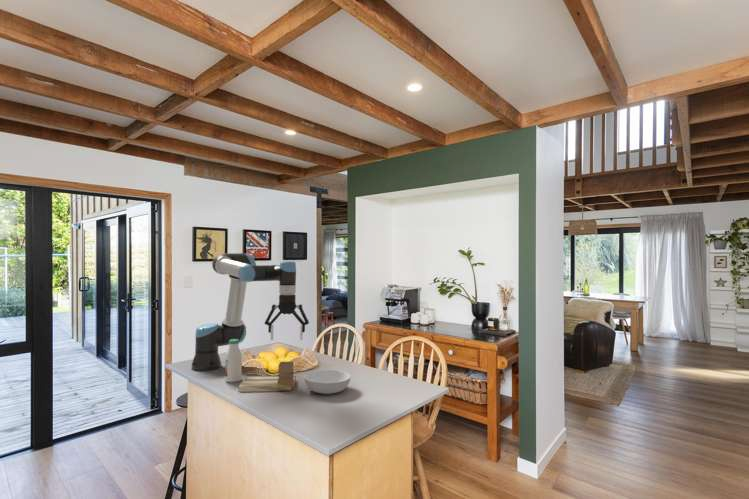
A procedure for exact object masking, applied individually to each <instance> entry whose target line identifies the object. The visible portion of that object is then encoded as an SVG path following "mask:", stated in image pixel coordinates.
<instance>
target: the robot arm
mask: <svg viewBox="0 0 749 499" xmlns="http://www.w3.org/2000/svg"><path fill="white" fill-rule="evenodd" d="M211 265H212V269H213V271H214V272H215V273H217V274H220V275H224V276H225V275H228V277H229V278H230V285H229V293H228V299H227V306H226V307H227V308H226V312H225V318H224V319H222V322H221V324H219V323H217V322H211V323H205V324H202V325H199V326H198V327H196V330H195V335H194V336H195V349H194V350H195V352H194V357H193V359H192V362H191V370H193V371H197V372H200V371H212V370H216V369H219V368H221V367H222V360H221V358H220V354H219V347H224V346H229V340H231V339H238V340H239V344H241V343H242V342H243V341H244V340H245V338H246V335H247V327H246V324H245V323H244V321H243V319H242V317H243V312H244V309H243V308H244V303H245V297H246V296H245V295H246V291H247V290H246V289H247V283H251V282H272V281H273V282H275V281H276V282H279V287H278V288H279V295H278V304H275V303H273V304H272V305H271V309H270V311H269V313H268V315H267V318H266V320H265V321H264V325H267V326H268V333H269V334H270V341H273V340H274V325H273V324H274V322H275V321H276V320H277V319H278V318H279V317H280V316H281V315H282V314H283V315H291V314H292V315H293V316H294V318H295V319H297V321H298V323H300V324H301V325H300V327H299V328H300V329H299V330H300V332H299V333H300V335H299V338H300V339H299V340H300V341H302V340H303V333H305V331H306V325H309V323H310V321H309V320H308V317H307V315H306V313H305V311H304V309H303V304H301V303H300V304H296V296H297V295H296V290H297V288H296V287H297V285H296V281H297V280H296V279H297V263H296V262H295V261H280V262H279V265H278V264H271V265H269V264H268V265H267V264H265V265H262V264H261V265H258V264H257V262H256V260H255V258H254V256H253V255H252V254H250V253H244V252H243V253H242V252H241V253H239V252H237V253H233V252H231V253H229V252H226V253H224V252H223V253H221V254H220V253H219V254H218V255H216V256H215V257H214V259H213V260H212V263H211ZM277 309H278V310H279V312H277V314H276V315H275V316H274V317H273V318H272V316H273V314H274V312H275V310H277ZM295 309H298V310H299V312H300V314H301V317H302V318H301V317H300V315H299V314H298V313H297V311H296V310H295ZM271 318H272V319H271ZM270 320H271V321H270Z"/></svg>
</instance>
